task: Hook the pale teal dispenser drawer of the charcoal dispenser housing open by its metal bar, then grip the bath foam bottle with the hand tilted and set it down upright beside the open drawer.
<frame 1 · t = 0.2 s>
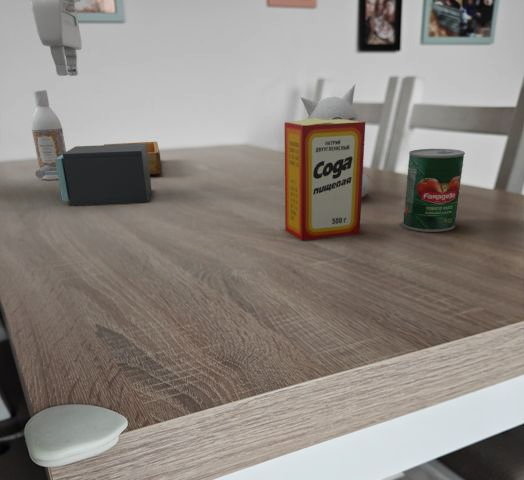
hand: (68, 75, 105), 23 cm above the table, tool pointing down, fingers open, 8 cm apart
baking soda box: (321, 233, 85), on the table
canned tomato: (428, 227, 86), on the table
decorative figurine: (330, 198, 108), on the table
drawer: (87, 174, 111), point 5 cm above the table, slide at 0.5 cm
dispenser: (113, 197, 114), on the table
tray: (132, 170, 148), on the table
bath foam: (56, 178, 139), on the table
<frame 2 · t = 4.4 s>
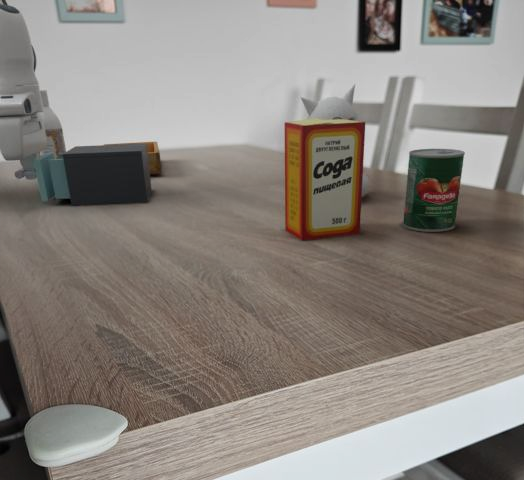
hand: (32, 178, 110), 4 cm above the table, tool pointing down, fingers closed, pressing on drawer
drawer: (67, 175, 111), point 5 cm above the table, slide at 4.4 cm, touching gripper
everything else where it was.
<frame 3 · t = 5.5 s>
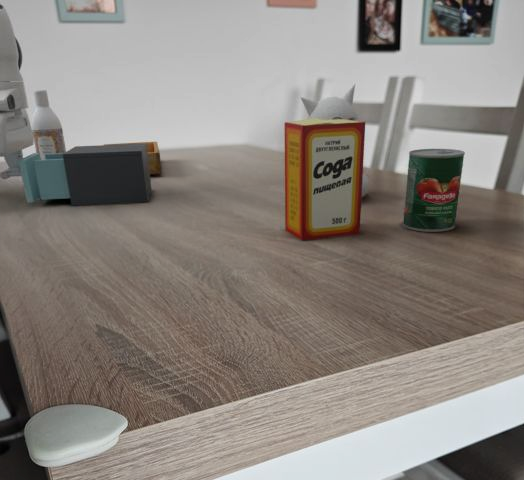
hand: (17, 175, 110), 5 cm above the table, tool pointing down, fingers closed
drawer: (53, 176, 111), point 5 cm above the table, slide at 7.2 cm
everything else where it was.
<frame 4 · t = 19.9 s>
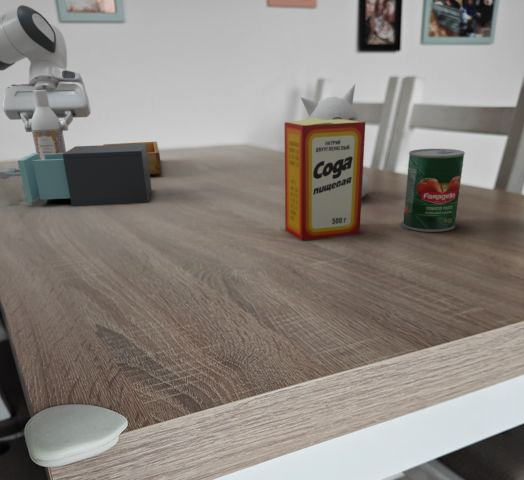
hand: (46, 129, 133), 11 cm above the table, tool tilted 45°, fingers closed on bath foam, 7 cm apart
bath foam: (56, 178, 139), on the table, touching gripper
everything else where it was.
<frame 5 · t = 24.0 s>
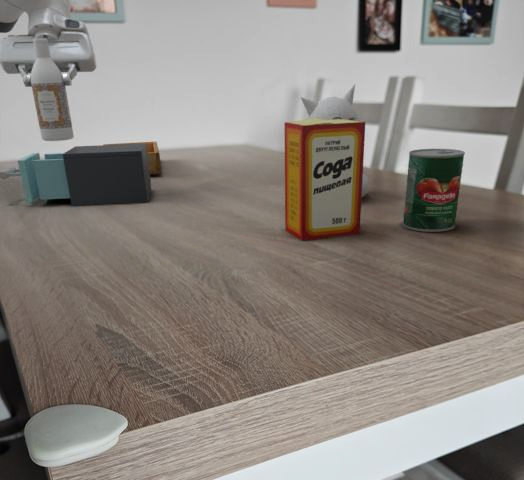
hand: (47, 84, 120), 21 cm above the table, tool tilted 45°, fingers closed on bath foam, 7 cm apart
bath foam: (58, 140, 126), point 10 cm above the table, touching gripper
everything else where it was.
when the fingers open (11 cm above the table, at t = 28.2 s): bath foam stays where it is, on the table.
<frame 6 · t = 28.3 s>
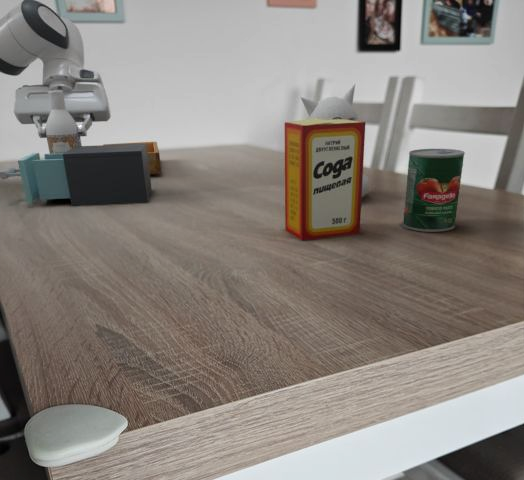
hand: (62, 135, 120), 11 cm above the table, tool tilted 45°, fingers open, 7 cm apart
bath foam: (72, 188, 125), on the table
everything else where it was.
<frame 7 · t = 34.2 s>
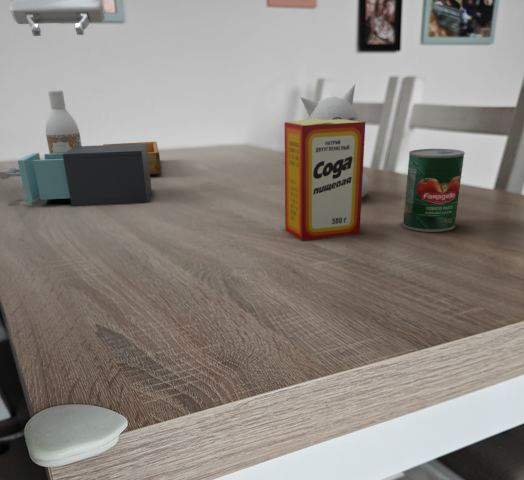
hand: (57, 33, 122), 31 cm above the table, tool tilted 45°, fingers open, 8 cm apart
nothing on the table moved.
at the end: drawer slide at 7.3 cm; bath foam inside the target area on the table beside the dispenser (0.0 cm from its centre), on the table; bath foam tilted 0° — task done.
